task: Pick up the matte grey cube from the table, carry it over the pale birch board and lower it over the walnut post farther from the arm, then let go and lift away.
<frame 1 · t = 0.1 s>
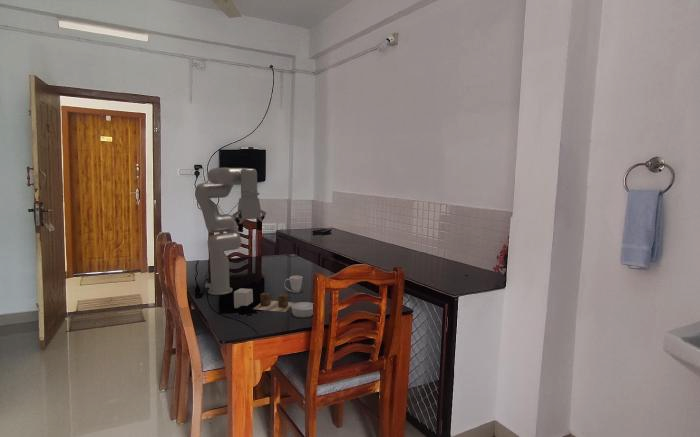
hand: (250, 230, 204), 37 cm above the table, tool pointing down, fingers open, 9 cm apart
ramekin: (303, 317, 195), on the table
post board: (274, 308, 206), on the table
matte grey cube: (243, 306, 209), on the table
cup: (293, 291, 234), on the table
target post: (283, 306, 204), resting on post board
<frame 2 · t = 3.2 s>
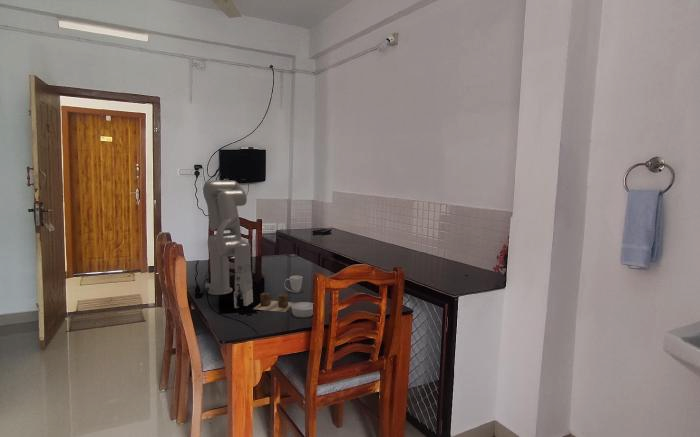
hand: (243, 303, 209), 1 cm above the table, tool pointing down, fingers closed on matte grey cube, 6 cm apart
matte grey cube: (243, 306, 209), on the table, touching gripper
everything else where it was.
when the fingers open (4 cm above the table, at t = 9.9 s): matte grey cube stays where it is, resting on post board.
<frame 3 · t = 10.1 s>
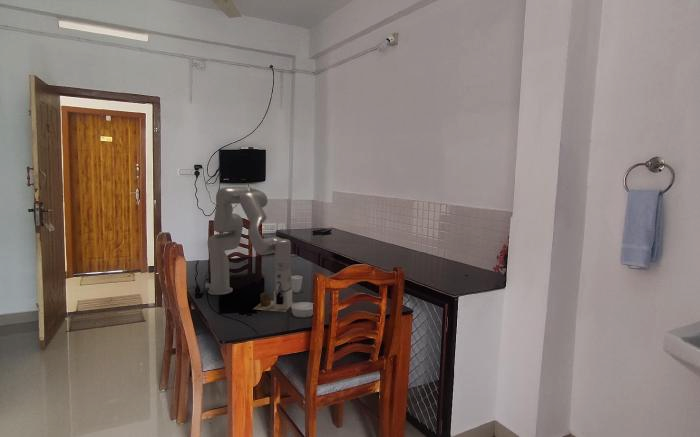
hand: (283, 301, 204), 4 cm above the table, tool pointing down, fingers open, 8 cm apart
matte grey cube: (283, 306, 204), point 1 cm above the table, touching post board
everything else where it was.
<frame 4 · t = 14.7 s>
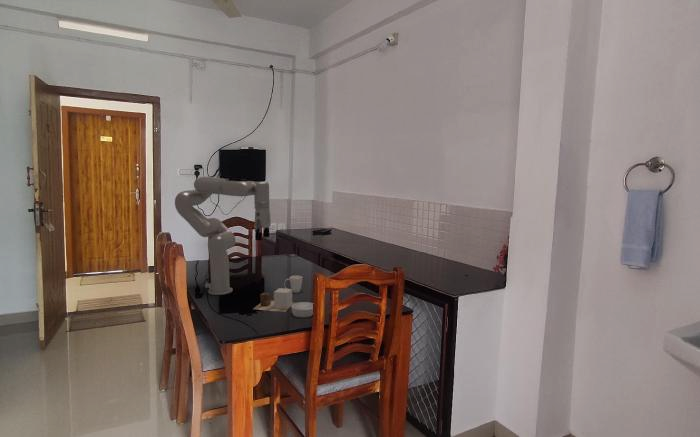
hand: (262, 238, 223), 30 cm above the table, tool pointing down, fingers open, 9 cm apart
nothing on the table moved.
at the end: matte grey cube 0.0 cm from the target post (horizontally); matte grey cube point 1.5 cm above the table; the gripper is holding nothing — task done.
